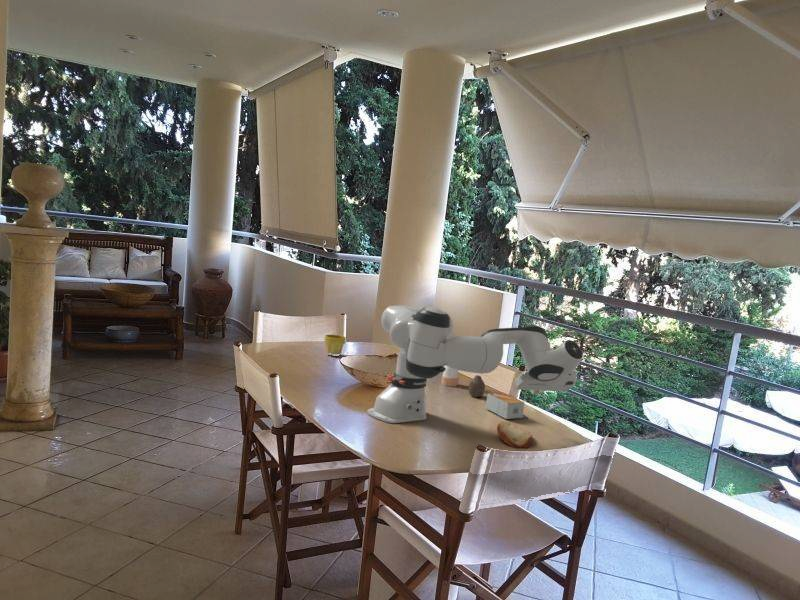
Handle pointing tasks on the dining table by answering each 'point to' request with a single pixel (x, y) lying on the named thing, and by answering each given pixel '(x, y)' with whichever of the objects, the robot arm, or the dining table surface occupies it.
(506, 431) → the bread slice
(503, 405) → the small box
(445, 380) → the pepper shaker
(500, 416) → the mat
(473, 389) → the avocado
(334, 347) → the plant pot
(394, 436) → the dining table surface
